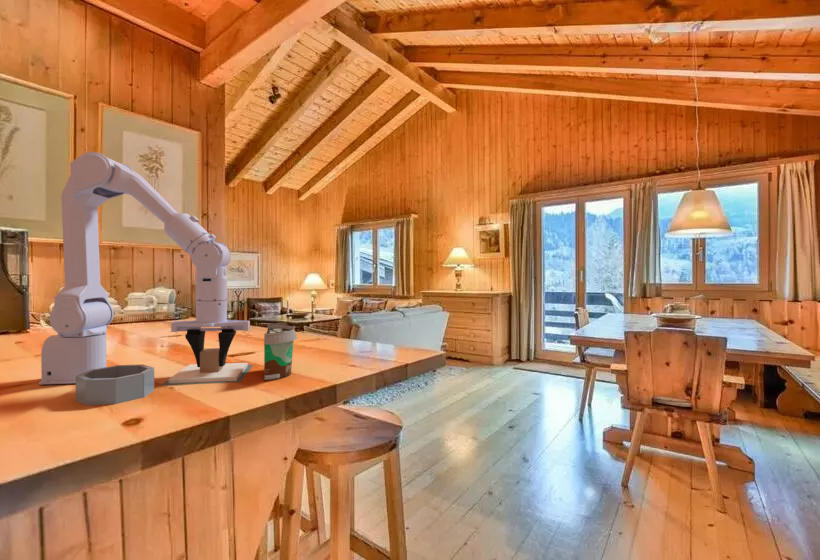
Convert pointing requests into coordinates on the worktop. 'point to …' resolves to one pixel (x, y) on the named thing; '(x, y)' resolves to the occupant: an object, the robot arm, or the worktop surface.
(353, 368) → the worktop surface
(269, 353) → the food container
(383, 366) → the worktop surface
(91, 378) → the bowl
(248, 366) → the mat
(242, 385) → the worktop surface
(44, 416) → the worktop surface
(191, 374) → the lid
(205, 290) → the robot arm
